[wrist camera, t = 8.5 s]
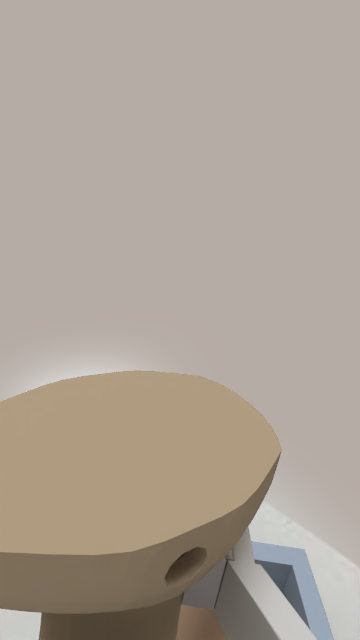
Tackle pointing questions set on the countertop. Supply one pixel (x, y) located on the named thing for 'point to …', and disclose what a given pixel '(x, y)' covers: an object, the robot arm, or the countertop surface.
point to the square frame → (295, 584)
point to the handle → (124, 498)
